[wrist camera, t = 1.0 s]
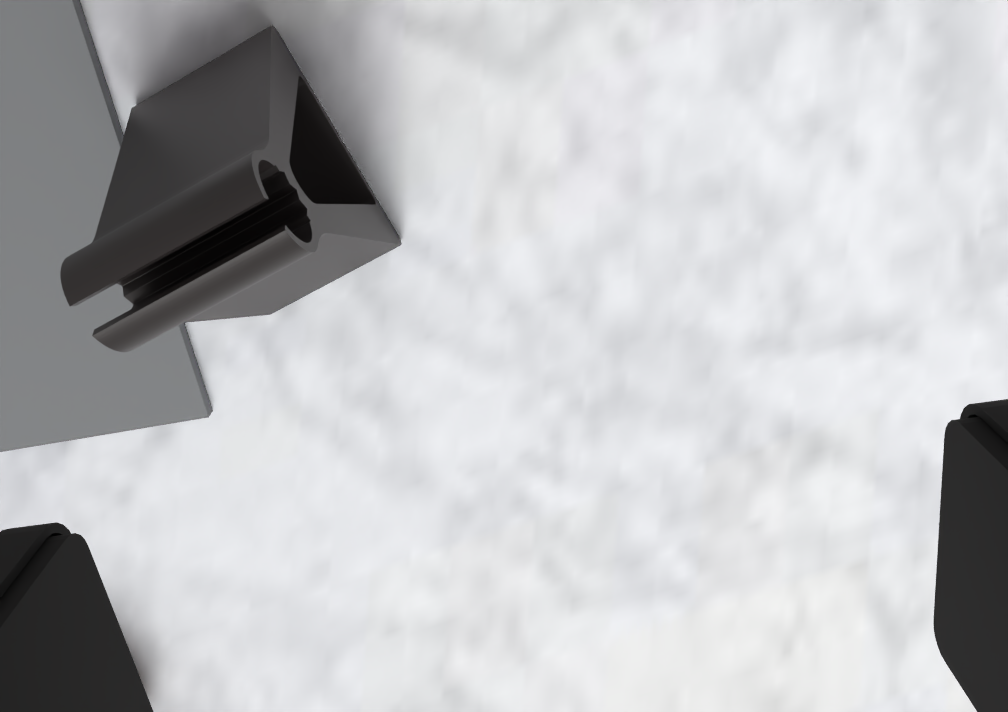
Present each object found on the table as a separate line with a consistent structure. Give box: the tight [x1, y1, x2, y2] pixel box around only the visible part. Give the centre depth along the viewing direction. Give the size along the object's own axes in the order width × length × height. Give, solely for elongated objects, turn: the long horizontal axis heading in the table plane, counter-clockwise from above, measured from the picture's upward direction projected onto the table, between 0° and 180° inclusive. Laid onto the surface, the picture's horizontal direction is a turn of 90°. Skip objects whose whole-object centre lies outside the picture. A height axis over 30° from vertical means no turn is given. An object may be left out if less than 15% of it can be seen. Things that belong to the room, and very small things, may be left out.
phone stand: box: [60, 26, 401, 352], centre depth 29 cm, size 9×6×12 cm, turn 28°
